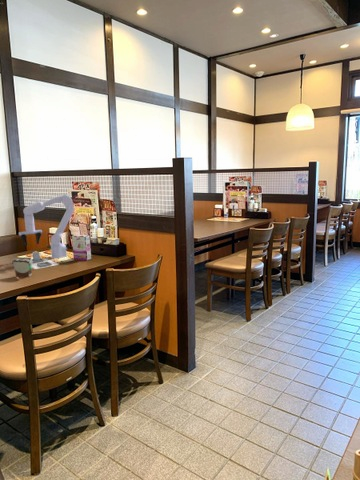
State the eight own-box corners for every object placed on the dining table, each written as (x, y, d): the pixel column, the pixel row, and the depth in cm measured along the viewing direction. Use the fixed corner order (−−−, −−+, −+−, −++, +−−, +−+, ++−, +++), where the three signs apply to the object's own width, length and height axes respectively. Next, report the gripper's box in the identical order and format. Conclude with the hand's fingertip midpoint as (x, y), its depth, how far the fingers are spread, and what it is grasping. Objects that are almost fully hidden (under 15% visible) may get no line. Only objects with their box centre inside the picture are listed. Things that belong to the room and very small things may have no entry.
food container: (39, 274, 201) (37, 257, 199) (31, 277, 196) (29, 260, 194) (21, 273, 205) (20, 256, 203) (13, 276, 200) (11, 259, 198)
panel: (45, 259, 239) (45, 256, 238) (59, 265, 221) (59, 262, 220) (22, 263, 229) (22, 260, 229) (35, 270, 211) (34, 267, 211)
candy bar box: (91, 259, 235) (90, 235, 232) (87, 260, 231) (85, 236, 227) (78, 258, 239) (76, 234, 236) (73, 259, 235) (71, 235, 232)
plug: (39, 260, 233) (38, 250, 231) (40, 261, 229) (39, 251, 228) (33, 261, 231) (32, 251, 230) (33, 262, 228) (32, 252, 226)
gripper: (38, 222, 241) (40, 242, 243) (16, 225, 231) (18, 245, 234) (42, 223, 235) (44, 243, 238) (19, 226, 226) (22, 246, 229)
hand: (31, 244), depth 236 cm, fingers open, 7 cm apart
